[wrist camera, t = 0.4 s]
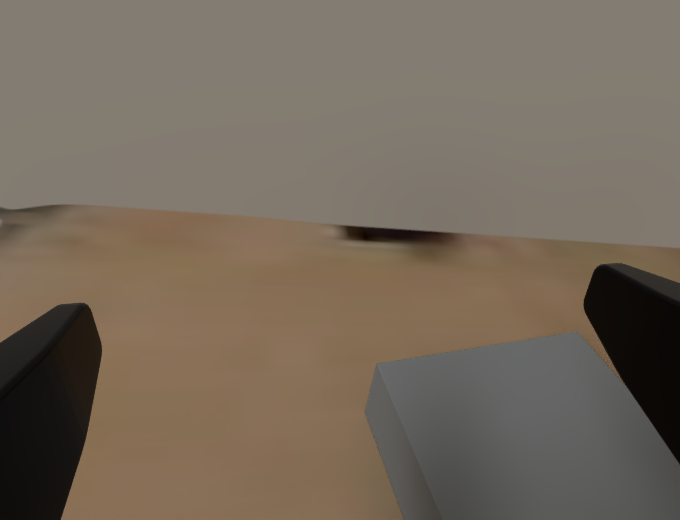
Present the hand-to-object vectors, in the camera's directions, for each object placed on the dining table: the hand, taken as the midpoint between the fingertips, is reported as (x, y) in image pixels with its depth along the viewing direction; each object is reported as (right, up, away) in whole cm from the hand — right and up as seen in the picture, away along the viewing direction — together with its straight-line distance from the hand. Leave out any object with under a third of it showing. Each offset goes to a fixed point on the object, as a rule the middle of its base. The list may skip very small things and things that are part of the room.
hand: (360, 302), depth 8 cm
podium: (+8, -11, +15) cm, 20 cm away
